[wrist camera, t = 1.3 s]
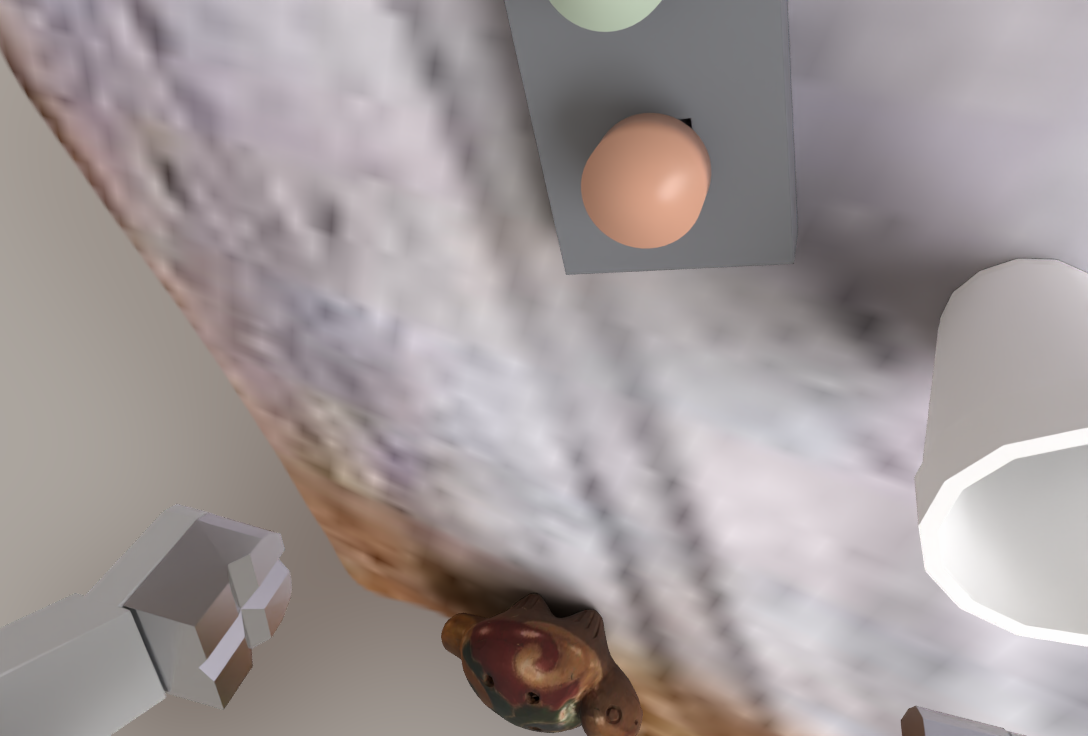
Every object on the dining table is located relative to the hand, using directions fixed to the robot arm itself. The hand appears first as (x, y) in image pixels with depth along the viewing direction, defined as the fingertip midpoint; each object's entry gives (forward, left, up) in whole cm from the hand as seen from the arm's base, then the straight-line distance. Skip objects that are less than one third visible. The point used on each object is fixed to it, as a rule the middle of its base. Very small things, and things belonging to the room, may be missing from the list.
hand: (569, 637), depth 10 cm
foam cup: (-10, +13, -28) cm, 32 cm away
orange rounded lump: (+4, +3, -26) cm, 26 cm away
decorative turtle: (+17, +38, -28) cm, 50 cm away
